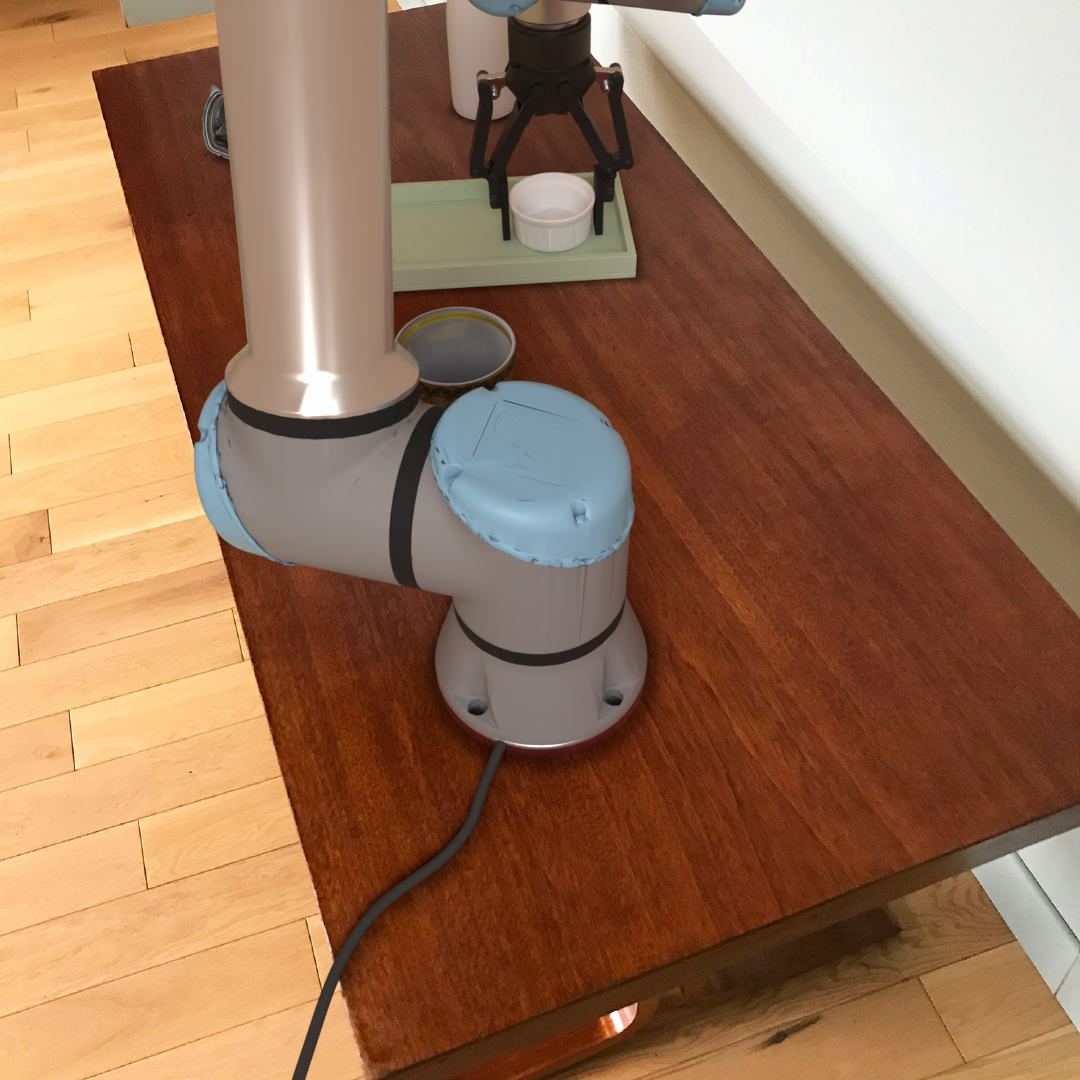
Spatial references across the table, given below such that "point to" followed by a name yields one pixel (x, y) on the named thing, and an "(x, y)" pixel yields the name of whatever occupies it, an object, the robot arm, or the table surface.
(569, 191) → the ramekin
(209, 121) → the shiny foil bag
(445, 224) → the tray
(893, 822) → the table surface
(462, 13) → the milk bottle
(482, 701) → the robot arm
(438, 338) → the ceramic cup
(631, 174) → the table surface
